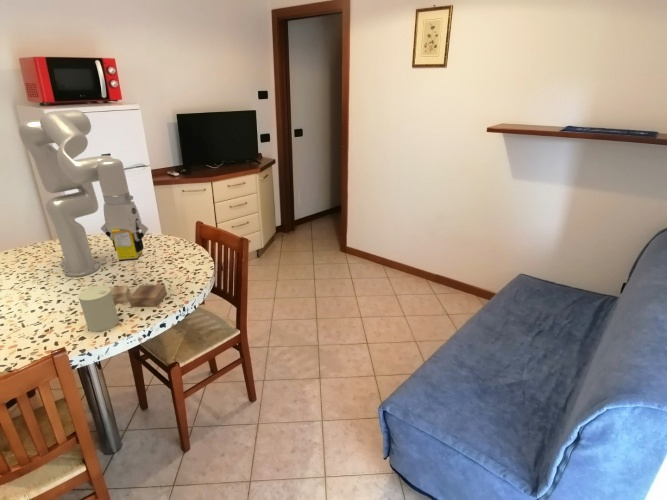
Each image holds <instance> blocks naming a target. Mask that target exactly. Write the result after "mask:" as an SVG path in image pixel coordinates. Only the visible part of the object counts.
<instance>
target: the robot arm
mask: <svg viewBox="0 0 667 500" xmlns="http://www.w3.org/2000/svg"><path fill="white" fill-rule="evenodd" d="M91 129H92V124H91V120H90V118H89V116H88V115H86V114H85V113H84V112H83V111H81V110H79V109H71V110H70V109H69V110H68V109H67V110H54V111H48V112H46V113H44V114H43V115H42V116H41V117H40V118H39V119H31V120H30V119H29V120H26V121H23V122H21V123H20V124H19V126H18V134H19V137H20V140H21V141H22V142H21V143H22V144H23V145H24V146H25V148H26V149H27V150H28V151H29V153H30V154H31V157H32V158H33V161H34V164H35V167H36V169H37V172H38V176H39V178H40V181H41V184H42V186H43V188H44V190H45V191H46V192H48V193H51V194H59V193H64V192H68V191H73V190H77V192H71V193H67V194H62V195H58V196H54V197H51V198H50V199H48V200H47V201H46V203H45V209H46V212H47V215H48V217H49V219H50V220H51V223H52V224H53V227H54V229H55V232H56V234H57V238H58V241H59V244H60V249H61V252H62V254H63V257H64V258H62V259H61V262H60V263H59V266H61V267H65V269H64V270H63V274H64V275H65V276H66V277H70V278H71V277H72V278H74V277H76V278H77V277H83V276H87V275H90V274H93V273H95V272H96V271H98V270H99V268H100V264H99V262H98V261H97V262H96V261H94V258H93V253H92V250H91V246H90V244H89V240H88V235H87V233H86V230H85V227H84V226H83V225H82V223H80V222H78V221H77V220H76V219H78V218H83V217H85V216H89V215H92V214H95V213H96V212H98V210H99V203H98V199H97V195H96V191H95V188H94V185H93V183H95V182H99V187H100V189H101V195H102V199H103V202H104V204H103V216H104V222H105V223H103V225H102V226H101V227H100V230H101V231H102V232H103V233H104V234H105V235H106V236H107V237H108V238H109V240H110V241H112V245H113V248H114V251H115V252H117V251H116V248H115V244H114V240H113V236H112V232H111V231H112V230H113V229H114V230H130V231H131V233H132V235H133V237H134V239H135V240H136V241H134V244H135V248H136V252H140V251H141V250H142V251H143V250H144V244H143V243H144V242H143V239H144V237H145V235H146V233H147V232H148V231H149V228H148V226H146V225H145V224H144V223H142V219H141V216H140V212H139V210H138V207H137V206H136V204H135V201H133V200H134V196H133V195H130V193H131V192H130V190H129V186H128V182H127V178H126V173H125V167H124V164H123V162H122V160H120V159H119V158H113V157H112V156H110V155H99V156H98V155H97V156H91V157H86V158H79V159H78V158H77V157H78V156H80V155H81V154H82V153H84V152H85V151H86V149H87V147H88V144H89V141H88V138H87V135H89V134H90V132H91ZM51 144H56V146H57V147H58V149H56V148H55V147H54V146H53V145H51ZM75 158H77V159H75ZM140 230H141V231H140ZM136 234H137V235H138V236H137V235H136Z"/></svg>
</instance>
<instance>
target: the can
mask: <svg viewBox="0 0 667 500" xmlns="http://www.w3.org/2000/svg"><path fill="white" fill-rule="evenodd" d="M77 298H78V301H79V302H80V303H79V304H80V307H81V310H82V314H83V317H84V319H85V323H86V329H87V330H88V331H90V332H94V333H97V332H104V331H108V330H110V329H111V328H114V327H115V326H117V324H119V322H120V317H119V315H118V313H117V309H116V304H114V301H113V297H112V293H111V287H110V286H107V285H96V286H91V287H88V288H86V289H84V290H83V291H81V292H79V293H78V296H77Z"/></svg>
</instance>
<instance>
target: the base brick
mask: <svg viewBox="0 0 667 500" xmlns="http://www.w3.org/2000/svg"><path fill="white" fill-rule="evenodd" d="M167 294H168V293H167V289H166V284H153V285H152V284H149V285H145V284H144V285H139V286H138V287H137V288H136V290H134V292H133V293H132V294H130V297H129V300H128V301H129V304H130V307H131V308H158V306H159V305H160V304H161V302H162V301H163V300H164V299H165V297H166V295H167Z"/></svg>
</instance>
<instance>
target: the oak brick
mask: <svg viewBox="0 0 667 500" xmlns="http://www.w3.org/2000/svg"><path fill="white" fill-rule="evenodd" d="M110 288H111V293H112V297H113V301H114V304H115V305H118V304H126V303H129V301H130V300H129V297H130V296H131V292H130V287H129V284H124V285H119V286H117V285H116V286H111V287H110Z"/></svg>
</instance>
